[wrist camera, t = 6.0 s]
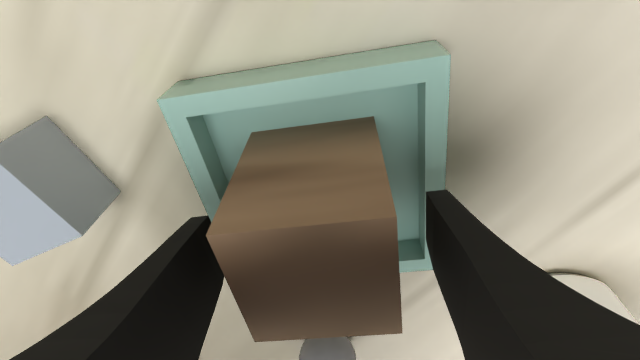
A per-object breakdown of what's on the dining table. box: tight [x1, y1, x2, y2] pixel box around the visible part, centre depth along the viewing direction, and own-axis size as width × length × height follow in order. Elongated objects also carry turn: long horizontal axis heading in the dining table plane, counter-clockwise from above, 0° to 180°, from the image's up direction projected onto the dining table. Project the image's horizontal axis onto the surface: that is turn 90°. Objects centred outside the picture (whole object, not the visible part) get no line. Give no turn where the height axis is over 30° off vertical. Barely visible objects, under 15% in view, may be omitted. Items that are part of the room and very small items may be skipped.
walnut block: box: [206, 116, 402, 342], centre depth 12 cm, size 4×4×6 cm
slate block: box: [0, 116, 121, 266], centre depth 14 cm, size 4×4×3 cm
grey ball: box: [299, 337, 356, 360], centre depth 20 cm, size 3×3×3 cm
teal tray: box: [157, 40, 451, 273], centre depth 14 cm, size 9×9×2 cm
